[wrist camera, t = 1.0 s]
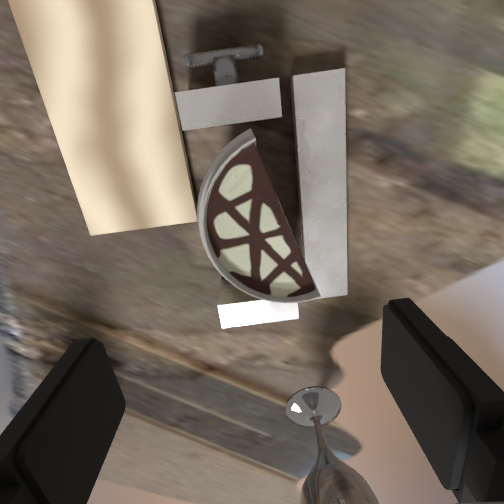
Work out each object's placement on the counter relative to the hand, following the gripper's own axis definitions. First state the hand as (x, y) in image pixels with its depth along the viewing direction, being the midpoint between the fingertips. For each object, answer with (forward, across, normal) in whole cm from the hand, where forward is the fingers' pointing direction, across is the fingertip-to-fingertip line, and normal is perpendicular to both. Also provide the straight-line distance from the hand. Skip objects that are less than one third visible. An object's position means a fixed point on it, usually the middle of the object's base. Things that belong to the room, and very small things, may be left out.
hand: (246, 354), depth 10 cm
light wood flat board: (+20, +9, -8) cm, 24 cm away
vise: (+20, -3, -1) cm, 20 cm away
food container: (+20, 0, 0) cm, 20 cm away
